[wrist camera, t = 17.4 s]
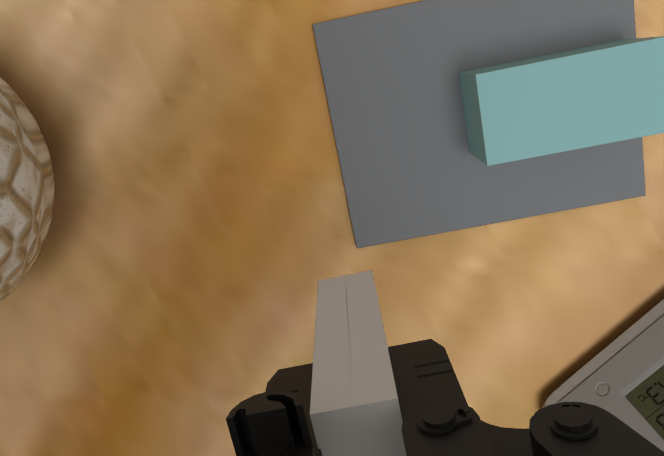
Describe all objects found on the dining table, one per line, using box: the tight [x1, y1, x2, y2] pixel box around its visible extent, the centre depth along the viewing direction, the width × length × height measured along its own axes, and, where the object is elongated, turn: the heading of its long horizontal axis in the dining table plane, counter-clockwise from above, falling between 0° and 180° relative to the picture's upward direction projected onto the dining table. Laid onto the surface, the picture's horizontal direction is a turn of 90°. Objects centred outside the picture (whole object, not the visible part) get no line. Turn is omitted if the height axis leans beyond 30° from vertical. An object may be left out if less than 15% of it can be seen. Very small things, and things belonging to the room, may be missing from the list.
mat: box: [313, 0, 646, 248], centre depth 34 cm, size 17×13×1 cm
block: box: [459, 37, 664, 166], centre depth 31 cm, size 4×4×9 cm
